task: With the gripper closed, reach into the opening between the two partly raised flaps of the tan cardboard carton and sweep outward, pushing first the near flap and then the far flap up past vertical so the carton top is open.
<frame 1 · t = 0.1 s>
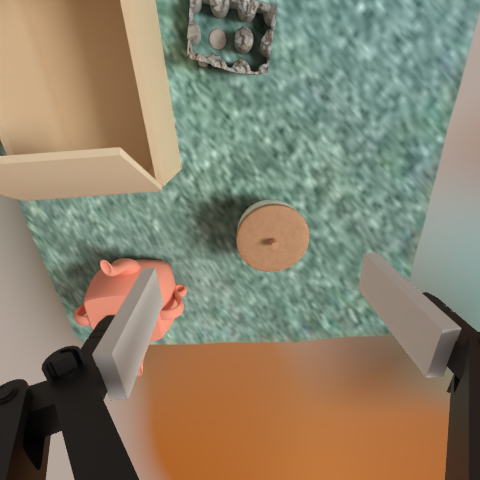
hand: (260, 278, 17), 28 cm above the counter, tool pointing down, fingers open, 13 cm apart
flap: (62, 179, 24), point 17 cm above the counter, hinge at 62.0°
teapot: (145, 280, 49), on the counter
carton: (111, 92, 36), on the counter
lidded jar: (266, 221, 45), on the counter
egg carton: (230, 40, 35), on the counter
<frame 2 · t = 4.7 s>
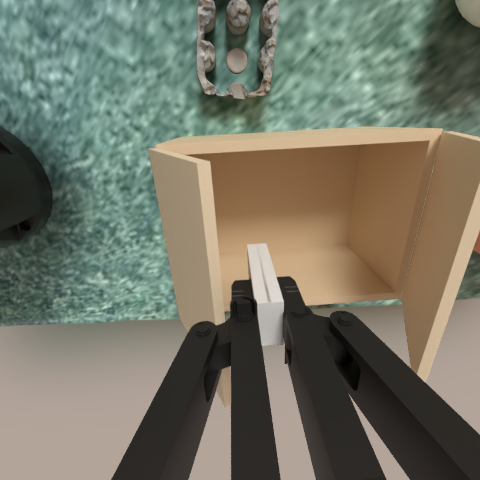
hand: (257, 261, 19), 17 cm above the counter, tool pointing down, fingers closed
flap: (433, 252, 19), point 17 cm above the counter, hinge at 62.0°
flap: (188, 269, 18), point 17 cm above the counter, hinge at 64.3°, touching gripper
carton: (274, 198, 34), on the counter
egg carton: (235, 42, 27), on the counter
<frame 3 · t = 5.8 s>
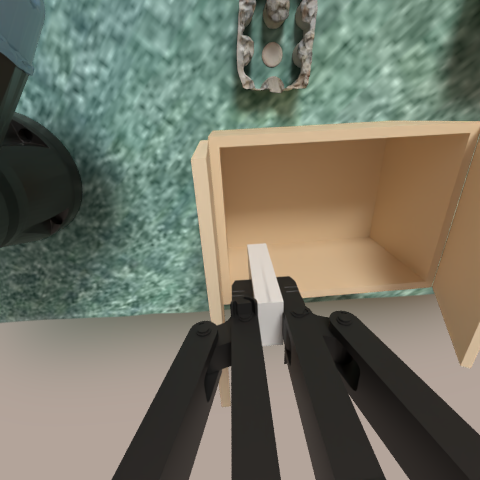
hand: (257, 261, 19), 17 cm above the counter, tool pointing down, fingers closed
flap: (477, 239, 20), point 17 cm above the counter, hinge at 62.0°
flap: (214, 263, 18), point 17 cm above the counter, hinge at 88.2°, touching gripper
carton: (300, 191, 35), on the counter
egg carton: (270, 36, 28), on the counter
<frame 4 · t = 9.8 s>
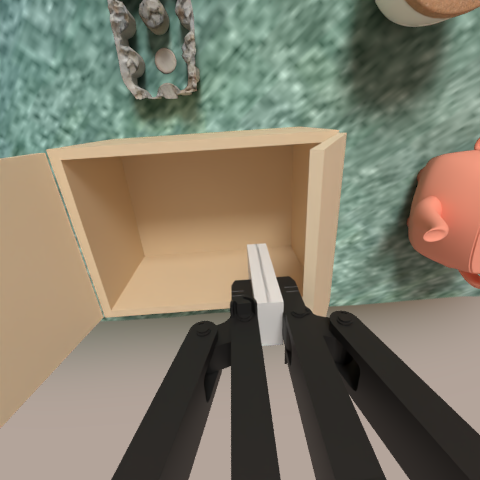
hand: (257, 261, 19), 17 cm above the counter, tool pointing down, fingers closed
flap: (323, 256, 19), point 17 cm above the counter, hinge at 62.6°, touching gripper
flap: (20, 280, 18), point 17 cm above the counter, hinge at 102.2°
teapot: (443, 197, 35), on the counter
carton: (212, 199, 34), on the counter
egg carton: (161, 42, 27), on the counter
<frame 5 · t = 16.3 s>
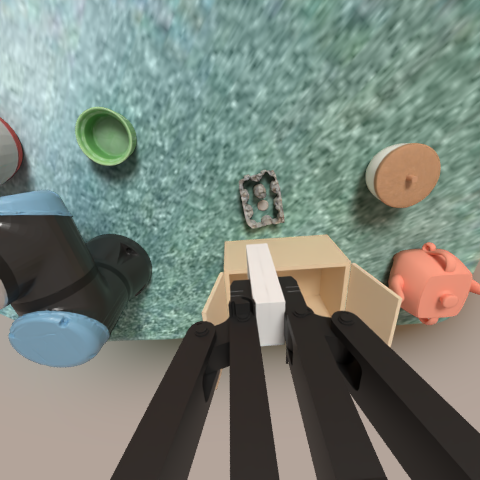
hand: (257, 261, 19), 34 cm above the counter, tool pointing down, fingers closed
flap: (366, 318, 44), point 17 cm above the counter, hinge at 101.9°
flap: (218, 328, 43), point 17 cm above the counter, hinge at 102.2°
ramekin: (114, 136, 47), on the counter
teapot: (409, 267, 61), on the counter
carton: (276, 270, 59), on the counter
lidded jar: (383, 169, 51), on the counter
egg carton: (259, 197, 53), on the counter
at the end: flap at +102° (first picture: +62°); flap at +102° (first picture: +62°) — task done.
